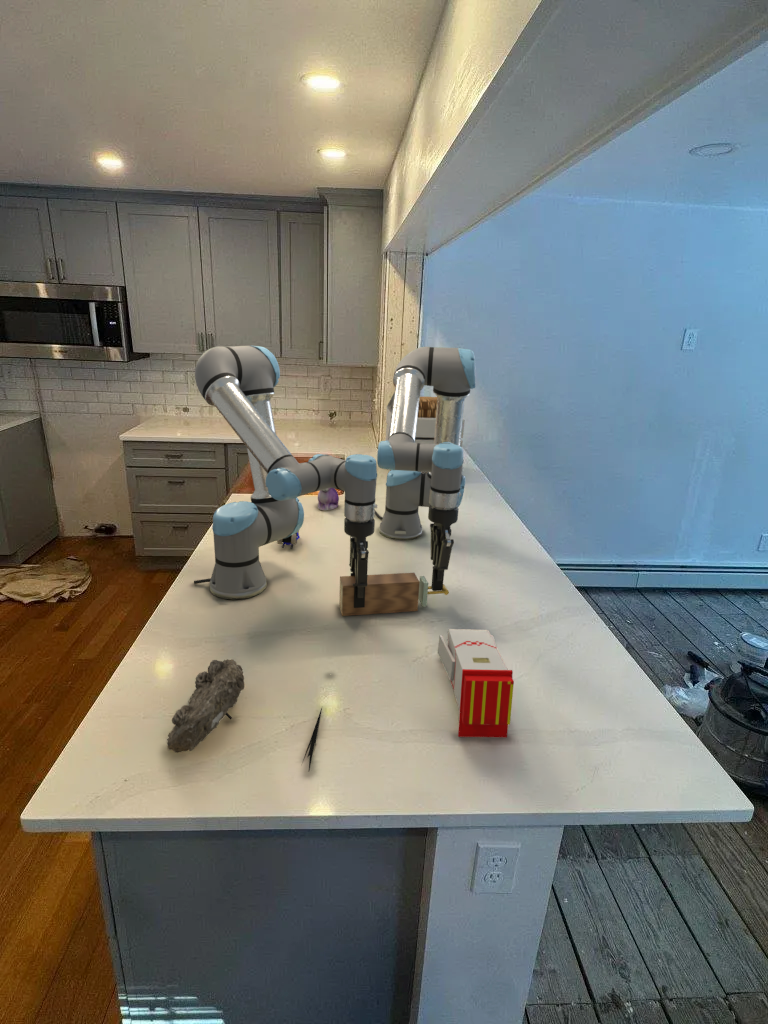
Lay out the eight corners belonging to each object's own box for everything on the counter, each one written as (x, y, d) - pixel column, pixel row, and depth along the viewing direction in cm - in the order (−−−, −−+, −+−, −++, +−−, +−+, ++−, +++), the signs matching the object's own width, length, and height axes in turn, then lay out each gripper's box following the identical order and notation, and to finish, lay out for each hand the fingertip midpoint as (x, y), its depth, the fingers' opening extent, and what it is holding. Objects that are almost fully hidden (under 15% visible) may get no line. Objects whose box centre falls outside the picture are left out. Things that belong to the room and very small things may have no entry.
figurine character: (297, 555, 182) (302, 533, 196) (296, 534, 179) (302, 513, 192) (276, 554, 182) (283, 532, 195) (275, 534, 178) (282, 512, 192)
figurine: (321, 512, 217) (321, 474, 212) (311, 504, 225) (311, 467, 220) (344, 509, 221) (344, 472, 216) (333, 501, 229) (334, 465, 224)
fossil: (192, 660, 117) (244, 628, 112) (224, 691, 120) (276, 661, 115) (142, 746, 98) (202, 712, 93) (182, 779, 101) (242, 748, 96)
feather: (331, 679, 122) (336, 673, 122) (307, 777, 96) (313, 769, 95) (324, 675, 122) (329, 669, 121) (298, 772, 95) (304, 764, 95)
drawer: (443, 597, 155) (445, 574, 153) (448, 605, 151) (450, 581, 149) (353, 603, 150) (353, 579, 148) (355, 611, 146) (356, 587, 144)
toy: (488, 613, 130) (523, 677, 101) (484, 667, 133) (517, 744, 104) (435, 612, 130) (455, 676, 101) (432, 666, 133) (451, 743, 103)
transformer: (382, 463, 289) (386, 382, 275) (445, 464, 293) (451, 384, 279) (390, 482, 257) (394, 392, 243) (460, 483, 261) (468, 394, 247)
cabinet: (412, 601, 154) (414, 572, 151) (417, 611, 149) (419, 581, 146) (339, 605, 150) (339, 576, 147) (342, 616, 145) (342, 585, 142)
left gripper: (382, 531, 132) (378, 618, 140) (367, 505, 149) (365, 584, 157) (350, 532, 131) (348, 620, 139) (339, 505, 148) (338, 585, 155)
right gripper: (466, 513, 138) (458, 600, 146) (449, 497, 150) (442, 578, 158) (437, 514, 137) (430, 601, 145) (422, 498, 149) (417, 579, 157)
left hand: (357, 600), depth 148 cm, fingers closed on cabinet, 5 cm apart
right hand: (436, 589), depth 151 cm, fingers closed
